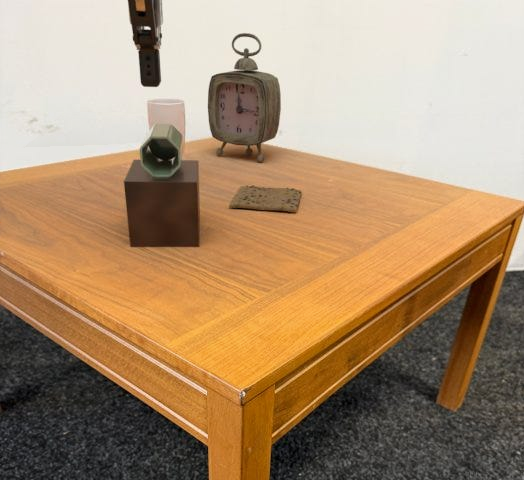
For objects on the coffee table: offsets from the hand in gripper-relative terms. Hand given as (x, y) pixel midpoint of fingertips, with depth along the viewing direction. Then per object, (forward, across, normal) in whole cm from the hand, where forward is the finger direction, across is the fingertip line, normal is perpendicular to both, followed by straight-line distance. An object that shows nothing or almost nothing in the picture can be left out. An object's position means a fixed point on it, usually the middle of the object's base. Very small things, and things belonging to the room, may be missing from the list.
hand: (151, 85), depth 65 cm
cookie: (+22, -26, +17) cm, 38 cm away
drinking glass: (+22, -36, -1) cm, 42 cm away
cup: (+13, -10, 0) cm, 16 cm away
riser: (+22, -10, 0) cm, 24 cm away
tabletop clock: (+22, -59, +15) cm, 65 cm away
